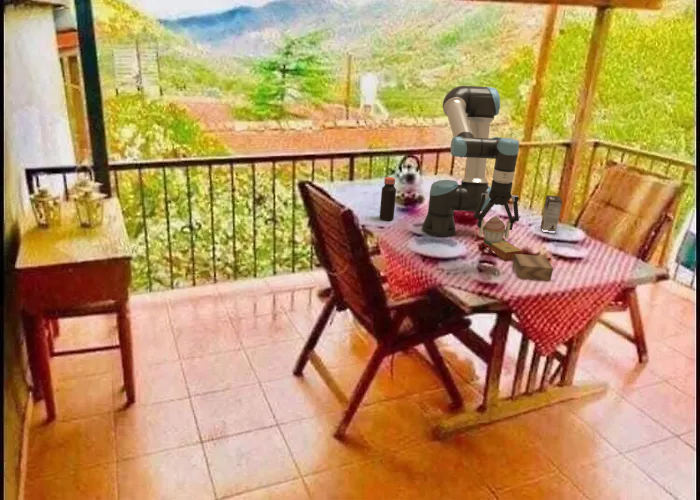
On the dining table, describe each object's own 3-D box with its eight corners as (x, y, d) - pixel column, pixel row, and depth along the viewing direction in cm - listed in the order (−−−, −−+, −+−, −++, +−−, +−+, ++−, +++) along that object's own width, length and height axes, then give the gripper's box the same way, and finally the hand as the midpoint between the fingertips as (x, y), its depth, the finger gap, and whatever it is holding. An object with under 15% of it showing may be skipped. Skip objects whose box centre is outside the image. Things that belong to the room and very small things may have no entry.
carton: (504, 261, 230) (506, 252, 229) (482, 247, 244) (483, 238, 242) (521, 259, 233) (522, 250, 232) (498, 245, 247) (500, 236, 245)
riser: (518, 277, 215) (520, 265, 213) (512, 265, 226) (514, 253, 224) (550, 280, 215) (553, 268, 213) (542, 267, 226) (545, 256, 224)
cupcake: (509, 240, 221) (513, 216, 217) (497, 246, 214) (501, 222, 210) (488, 234, 226) (492, 210, 222) (475, 239, 220) (479, 215, 216)
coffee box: (540, 226, 273) (546, 194, 267) (553, 228, 272) (560, 196, 266) (542, 232, 265) (548, 200, 259) (556, 234, 264) (563, 201, 258)
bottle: (388, 222, 267) (392, 181, 259) (376, 218, 270) (379, 178, 263) (396, 219, 272) (399, 178, 264) (384, 215, 275) (387, 175, 268)
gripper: (474, 181, 208) (465, 237, 217) (534, 185, 207) (523, 242, 216) (471, 175, 215) (463, 230, 224) (530, 180, 214) (519, 235, 223)
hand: (493, 236), depth 220 cm, fingers closed on cupcake, 9 cm apart
